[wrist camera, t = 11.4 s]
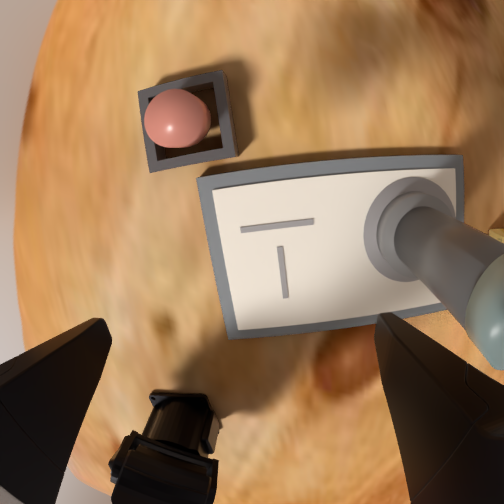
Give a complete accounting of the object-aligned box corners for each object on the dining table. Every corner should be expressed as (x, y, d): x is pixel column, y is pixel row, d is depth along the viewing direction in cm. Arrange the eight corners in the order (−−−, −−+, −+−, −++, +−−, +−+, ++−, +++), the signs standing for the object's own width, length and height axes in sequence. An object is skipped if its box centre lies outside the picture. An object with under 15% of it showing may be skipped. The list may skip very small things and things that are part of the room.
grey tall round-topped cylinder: (365, 259, 21) (446, 381, 9) (391, 179, 19) (521, 229, 7) (429, 277, 21) (523, 382, 9) (455, 206, 19) (581, 269, 7)
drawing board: (230, 333, 25) (227, 341, 24) (199, 176, 21) (195, 178, 20) (450, 302, 23) (456, 309, 22) (456, 154, 19) (464, 155, 18)
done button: (163, 152, 19) (148, 153, 17) (156, 102, 18) (140, 97, 16) (215, 142, 19) (206, 140, 16) (207, 90, 18) (197, 82, 15)
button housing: (159, 171, 21) (149, 173, 20) (147, 94, 19) (137, 91, 18) (238, 156, 21) (235, 156, 19) (226, 76, 19) (222, 69, 17)
